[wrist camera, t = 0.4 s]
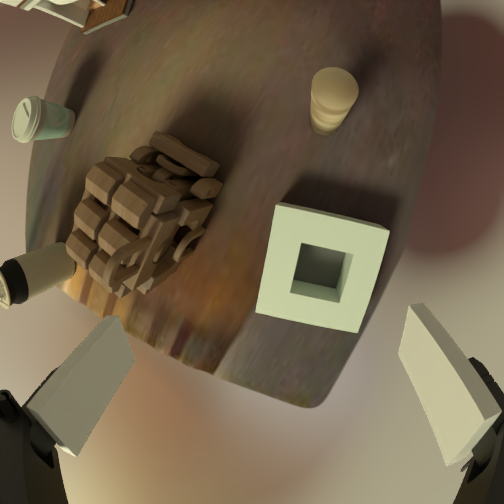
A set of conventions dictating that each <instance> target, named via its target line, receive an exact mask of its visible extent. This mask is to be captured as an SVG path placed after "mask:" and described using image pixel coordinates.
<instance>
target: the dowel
mask: <svg viewBox="0 0 504 504" xmlns="http://www.w3.org/2000/svg"><path fill="white" fill-rule="evenodd" d="M358 92H359V89H358V84H357V82H356V80H355V78H354V77H353V76H352V75H351V74H350V73H348V72H347V71H345V70H343V69H341V68H337V67H328V68H324V69H322V70H320V71H319V72H317V73H316V74H315V76H314V78H313V80H312V92H311V108H310V125H311V128H312V129H313V130H314V131H315V132H316V133H317V134H319V135H323V136H328V135H332V134H334V133H335V132H336V131H337V130H338V128H339V126H340V125H341V123H342V121H343V120H344V118H345V117H346V115H347V113H348V112H349V110H350V109H351V107H352V105H353V104H354V102H355V100H356V99H357V97H358Z"/></svg>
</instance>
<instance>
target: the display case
mask: <svg viewBox="0 0 504 504" xmlns="http://www.w3.org/2000/svg"><path fill="white" fill-rule="evenodd" d="M132 1H133V0H0V2H2V3H5V4H9V5H12V6H15V7H19V8H22V9H25V10H28V11H29V10H30V9H31V8H32V7H34V8H37V9H39V10H42V11H44V12H47V13H49V14H52V15H54V16H57V17H59V18H61V19H64V20H66V21H68V22H70V23H72V24H74V25H77V26H79V27H81V31H80V32H81V33H84V34H88V33H91V32H93V31H95V30H97V29H99V28H101V27H103V26H106V25H108V24H110V23H113V22H115V21H118V20H120V19H123V18H125V17H128V14H129V10H130V7H131V4H132Z"/></svg>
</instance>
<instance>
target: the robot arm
mask: <svg viewBox="0 0 504 504" xmlns="http://www.w3.org/2000/svg"><path fill="white" fill-rule="evenodd" d="M398 356H399V357H400V359H401V361H402V363H403V365H404V367H405V370H406V372H407V374H408V375H409V378H410V380H411V382H412V384H413V386H414V388H415V390H416V393H417V395H418V397H419V399H420V401H421V403H422V406H423V408H424V411H425V413H426V415H427V417H428V420H429V422H430V424H431V427H432V430H433V432H434V434H435V437H436V440H437V442H438V445H439V447H440V450H441V453H442V455H443V458H444V461H445V464H446V466H449V465H451V464H454V463H456V462H458V461H460V460H462V459H464V458H465V457H466V456H467V455H468V454H469V452H470V451H471V450H472V453H473V455H474V456H473V457H472V458H471V459H470V460H469V461H468V462H467V463H466V464H465V465H464V466H463V468H462V469H461V472H463V471H464V470H465V469H466V468H467V467H468V469H467V471H466V474H465V477H464V479H463V482H462V484H461V487H460V489H459V491H458V494H457V496H456V498H455V500H454V502H453V504H504V393H503V392H502V391H501V389H500V387H499V386H498V384H497V383H496V382H494V379H493V378H492V376H491V375H489V372H488V370H487V369H486V368H485V366H484V365H483V364H482V363H481V362H479V361H478V360H476V359H475V358H474V357H472V358H469V359H467V358H466V356H465V355H464V354H463V352H462V351H461V349H460V348H459V347H458V345H457V344H456V343H455V342H454V340H453V339H452V338H451V337H450V335H449V334H448V333H447V331H446V330H445V329H444V328H443V326H442V325H441V324H440V323H439V321H438V320H437V319H436V318H435V317H434V315H433V314H432V313H431V312H430V311H429V310H428V308H427V307H426V306H425V305H424V304H423V303H420V304H413V305H409V307H408V312H407V317H406V322H405V326H404V331H403V336H402V340H401V344H400V348H399V351H398ZM135 361H136V360H135V357H134V355H133V352H132V350H131V347H130V345H129V342H128V339H127V337H126V334H125V331H124V329H123V326H122V323H121V320H120V317H119V316H109V315H107V316H106V317H105V318H104V319H103V320H102V321H101V322H100V323H99V324H98V325H97V326H96V327H95V328H94V330H93V331H92V332H91V333H90V334H89V335H88V336H87V337H86V338H85V339H84V340H83V342H81V343H80V345H79V346H78V347H77V348H76V349H75V350H74V351H73V352H72V353H71V354H70V356H69V357H68V358H67V359H66V360H65V361H64V362H63V364H61V366H59V367H58V368H56V369H55V370H53V371H52V372H51V373H50V374H49V375H48V376H47V378H46V380H44V381H43V382H42V383H41V386H39V387H38V388H37V389H36V390H35V392H34V393H33V394H32V395H31V397H30V398H29V399H28V400H27V401H26V403H25V404H24V405H23V406H22V407H20V405H19V404H18V403H17V401H16V400H15V399H14V397H13V396H12V395H11V393H10V391H8V390H0V504H68V500H67V496H66V493H65V489H64V484H63V480H62V475H61V470H60V464H59V458H58V452H57V450H56V448H55V447H54V445H55V444H56V443H57V444H58V445H59V446H60V447H61V448H62V449H63V450H64V451H65V452H67V453H69V454H71V455H73V456H75V457H77V456H78V454H79V453H80V451H81V449H82V447H83V446H84V444H85V442H86V441H87V439H88V437H89V435H90V434H91V432H92V430H93V429H94V427H95V425H96V423H97V422H98V420H99V419H100V417H101V415H102V414H103V412H104V410H105V409H106V407H107V405H108V404H109V402H110V400H111V399H112V397H113V396H114V394H115V392H116V391H117V389H118V388H119V386H120V384H121V383H122V381H123V380H124V378H125V376H126V375H127V373H128V372H129V370H130V369H131V367H132V365H133V364H134V362H135Z"/></svg>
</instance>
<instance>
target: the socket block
mask: <svg viewBox="0 0 504 504" xmlns="http://www.w3.org/2000/svg"><path fill="white" fill-rule="evenodd" d="M389 232H390V231H389V230H387V229H386V228H384V227H382V226H381V225H379V224H375V223H371V222H367V221H363V220H359V219H355V218H351V217H347V216H343V215H338V214H334V213H330V212H325V211H321V210H316V209H312V208H307V207H302V206H298V205H293V204H288V203H283V202H279V203H278V204H276V207H275V212H274V218H273V223H272V229H271V234H270V239H269V244H268V250H267V255H266V260H265V265H264V270H263V276H262V281H261V286H260V291H259V296H258V301H257V306H256V311H255V312H257V313H261V314H266V315H270V316H274V317H279V318H283V319H288V320H293V321H297V322H302V323H307V324H312V325H317V326H322V327H327V328H332V329H338V330H343V331H349V332H354V333H357V332H358V330H359V327H360V325H361V322H362V319H363V317H364V314H365V311H366V308H367V306H368V303H369V300H370V297H371V294H372V291H373V288H374V285H375V282H376V278H377V275H378V272H379V269H380V265H381V262H382V258H383V255H384V251H385V248H386V244H387V240H388V236H389ZM342 264H343V265H342ZM337 282H338V283H337Z"/></svg>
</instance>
